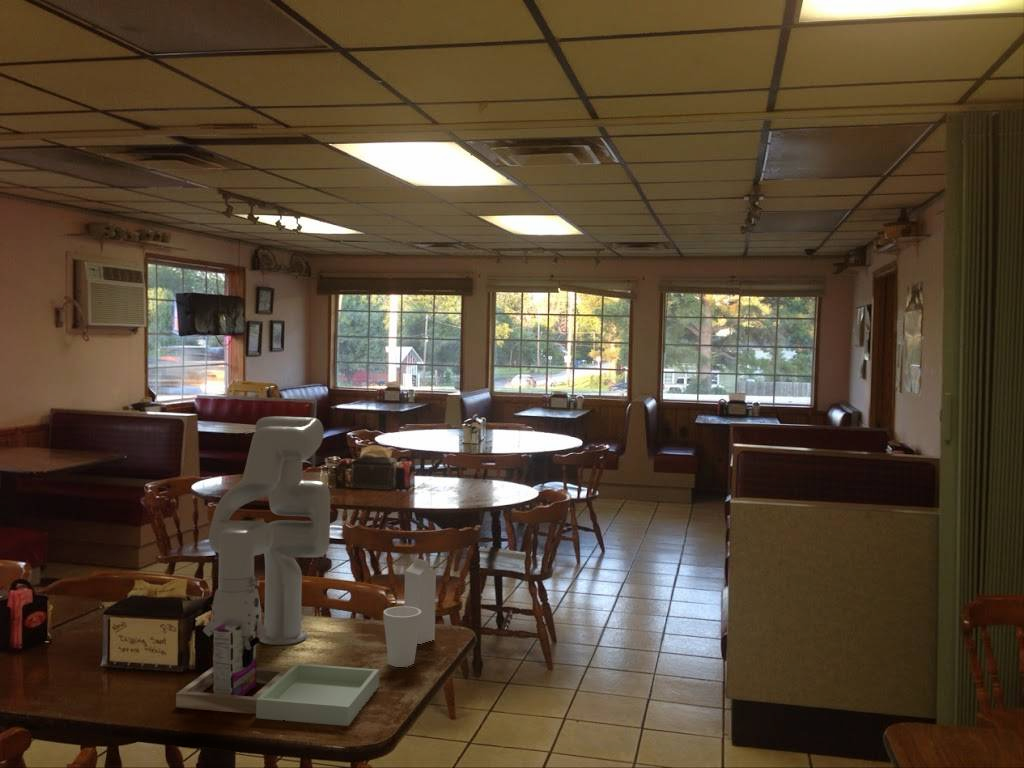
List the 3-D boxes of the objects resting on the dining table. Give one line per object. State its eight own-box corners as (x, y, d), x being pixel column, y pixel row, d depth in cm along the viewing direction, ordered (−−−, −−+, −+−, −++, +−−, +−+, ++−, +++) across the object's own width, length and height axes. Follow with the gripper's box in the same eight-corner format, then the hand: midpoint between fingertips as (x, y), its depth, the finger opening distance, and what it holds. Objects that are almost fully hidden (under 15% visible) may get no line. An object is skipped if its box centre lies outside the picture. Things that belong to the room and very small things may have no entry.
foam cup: (405, 654, 226) (406, 604, 225) (428, 664, 219) (429, 612, 219) (374, 662, 219) (375, 611, 219) (397, 673, 213) (398, 619, 212)
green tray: (296, 680, 206) (296, 663, 206) (378, 686, 204) (379, 669, 203) (256, 718, 185) (256, 699, 184) (348, 726, 182) (348, 706, 182)
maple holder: (215, 677, 207) (215, 664, 207) (288, 683, 204) (289, 670, 204) (176, 707, 189) (176, 693, 189) (255, 714, 187) (255, 699, 187)
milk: (418, 645, 233) (419, 563, 232) (403, 640, 237) (404, 559, 236) (435, 640, 237) (436, 559, 236) (420, 635, 241) (421, 555, 241)
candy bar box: (237, 684, 203) (238, 613, 202) (257, 686, 202) (258, 615, 201) (211, 703, 192) (212, 628, 191) (232, 705, 191) (233, 630, 190)
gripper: (279, 581, 199) (278, 661, 199) (208, 577, 201) (207, 656, 201) (265, 590, 191) (264, 673, 192) (191, 585, 193) (190, 667, 194)
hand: (235, 663), depth 197 cm, fingers closed on candy bar box, 5 cm apart
